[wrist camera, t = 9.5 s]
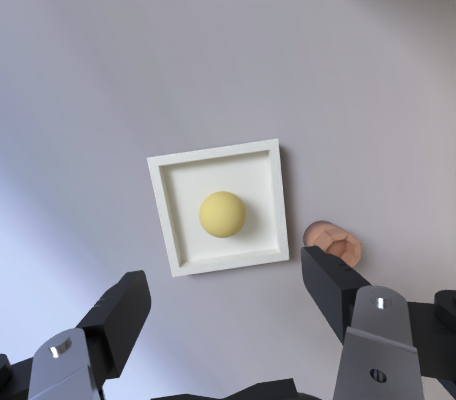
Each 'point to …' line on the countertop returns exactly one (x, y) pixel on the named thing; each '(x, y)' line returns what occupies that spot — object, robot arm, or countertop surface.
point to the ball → (222, 214)
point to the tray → (214, 182)
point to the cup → (333, 241)
